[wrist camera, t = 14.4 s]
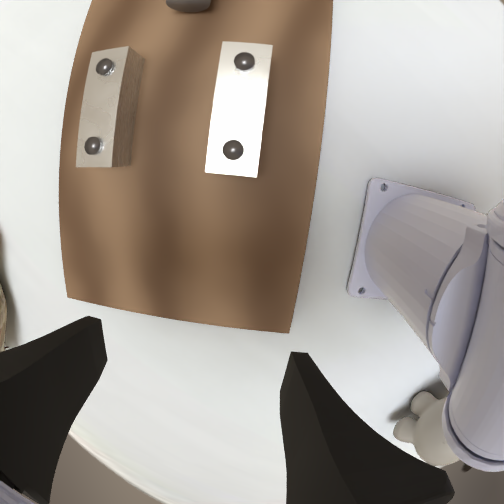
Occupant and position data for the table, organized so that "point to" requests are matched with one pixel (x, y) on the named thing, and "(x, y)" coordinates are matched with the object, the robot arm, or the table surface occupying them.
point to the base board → (197, 168)
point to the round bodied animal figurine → (426, 430)
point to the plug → (188, 5)
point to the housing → (222, 120)
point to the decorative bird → (2, 319)
